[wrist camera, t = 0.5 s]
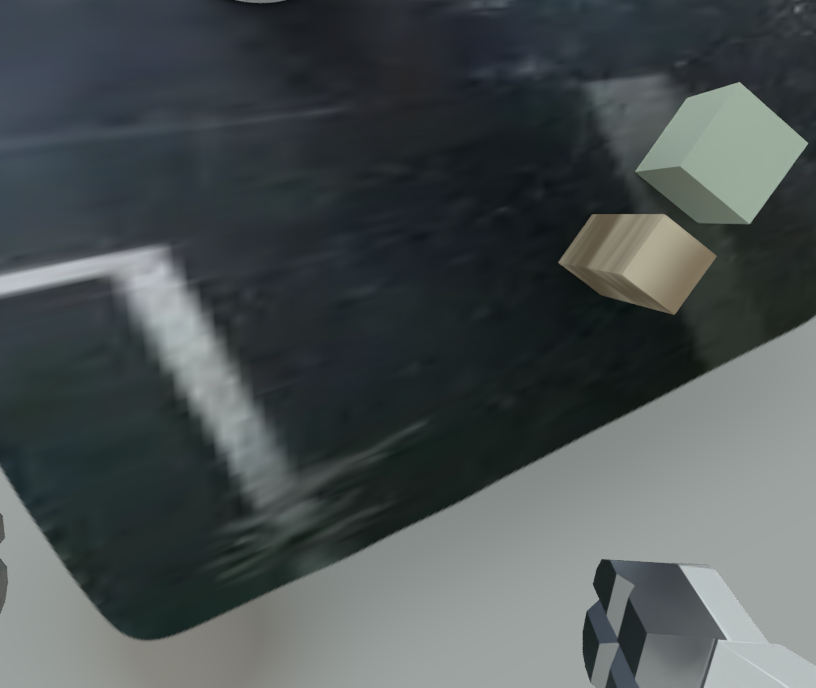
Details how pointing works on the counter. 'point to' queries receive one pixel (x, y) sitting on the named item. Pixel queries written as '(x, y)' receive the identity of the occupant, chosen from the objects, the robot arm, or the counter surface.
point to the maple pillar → (638, 259)
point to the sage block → (722, 156)
